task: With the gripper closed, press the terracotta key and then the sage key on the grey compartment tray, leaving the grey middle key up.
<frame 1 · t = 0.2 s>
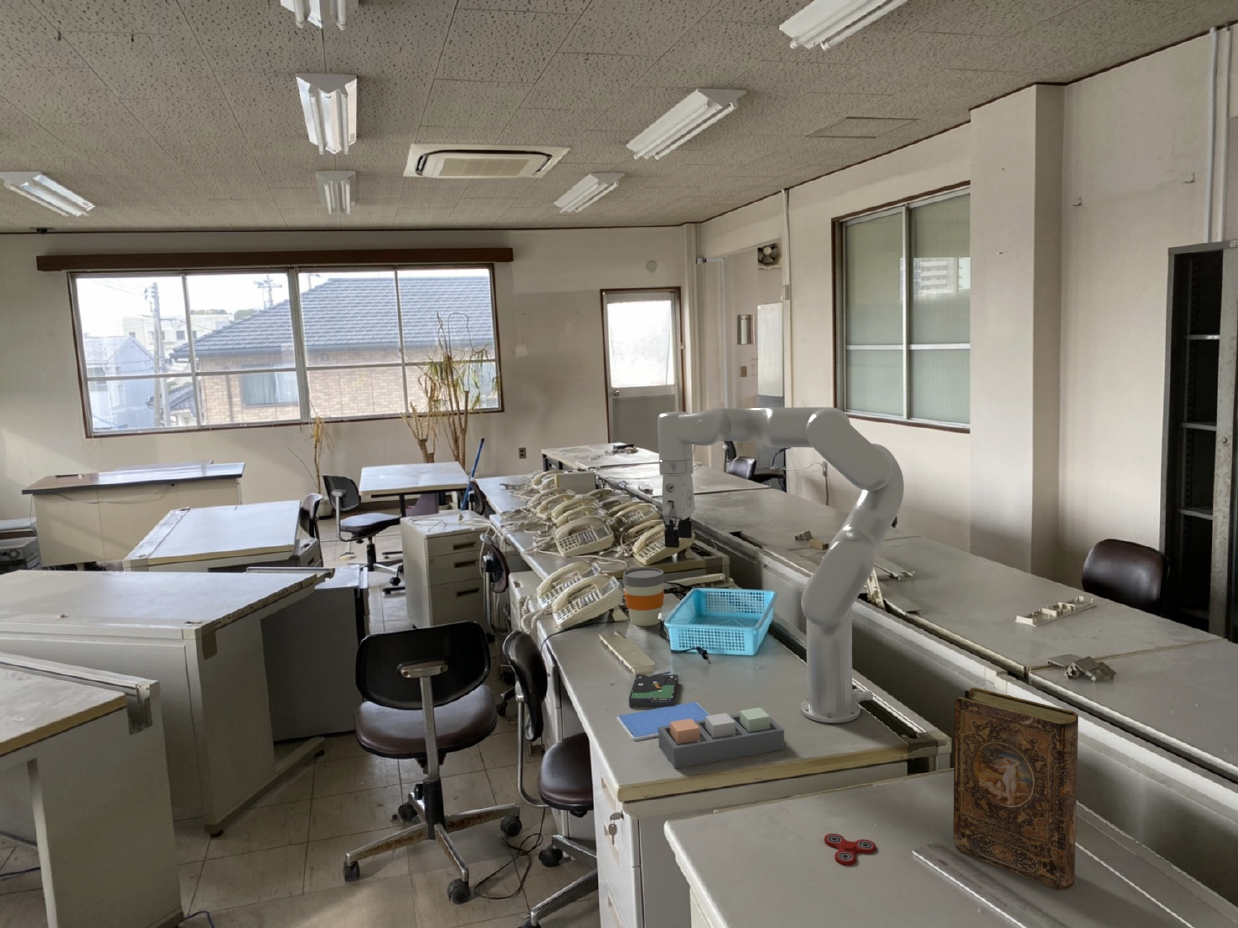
hand: (678, 542, 189), 37 cm above the table, tool pointing down, fingers open, 9 cm apart
reusable coffee cup: (645, 621, 253), on the table
sage key: (754, 719, 170), point 5 cm above the table, slide at 0.0 cm
terracotta key: (684, 730, 167), point 5 cm above the table, slide at 0.0 cm
grey key: (720, 725, 169), point 5 cm above the table, slide at 0.0 cm
book: (1014, 863, 128), on the table
grey compartment tray: (720, 747, 169), on the table
fidget spinner: (852, 852, 133), on the table
disk drive: (654, 697, 197), on the table
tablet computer: (666, 724, 183), on the table
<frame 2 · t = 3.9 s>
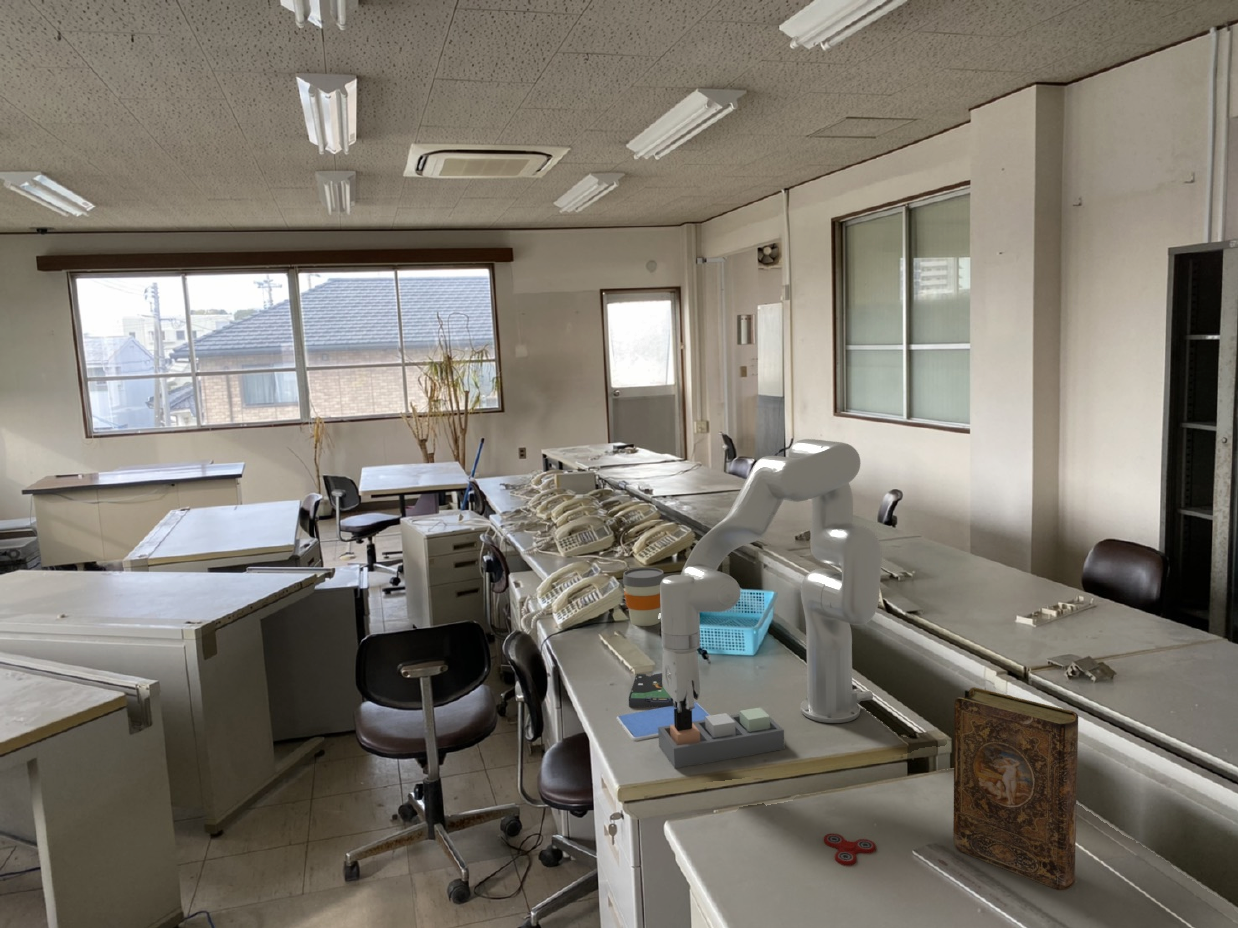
hand: (683, 728, 167), 5 cm above the table, tool pointing down, fingers closed
terracotta key: (684, 734, 167), point 4 cm above the table, slide at 0.7 cm, touching gripper
everything else where it was.
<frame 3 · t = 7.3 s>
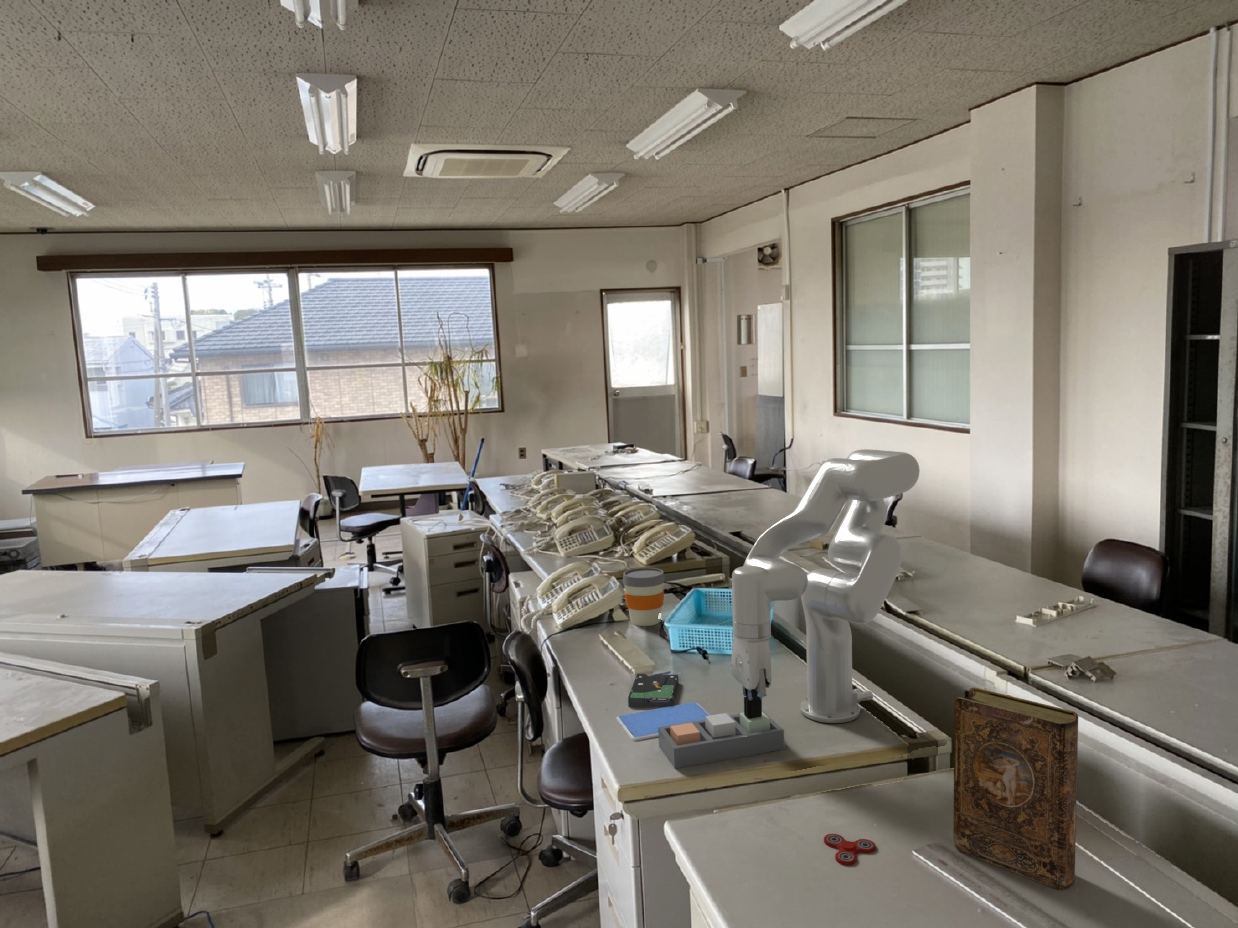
hand: (753, 716, 170), 6 cm above the table, tool pointing down, fingers closed
sage key: (754, 721, 171), point 4 cm above the table, slide at 0.5 cm, touching gripper
terracotta key: (684, 734, 167), point 4 cm above the table, slide at 0.8 cm
everything else where it was.
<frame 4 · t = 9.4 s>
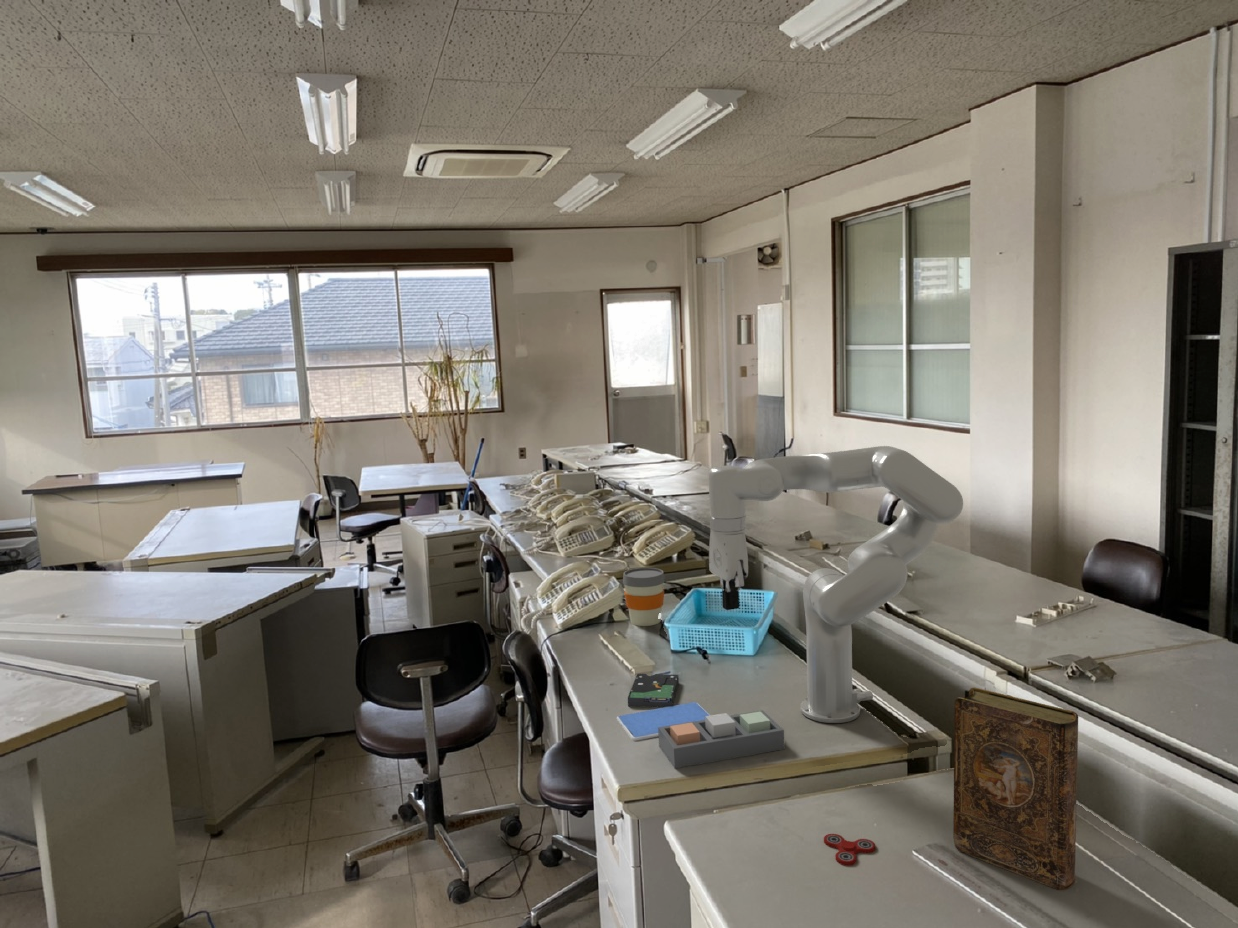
hand: (730, 608, 180), 24 cm above the table, tool pointing down, fingers closed
sage key: (754, 723, 171), point 4 cm above the table, slide at 0.9 cm
everything else where it was.
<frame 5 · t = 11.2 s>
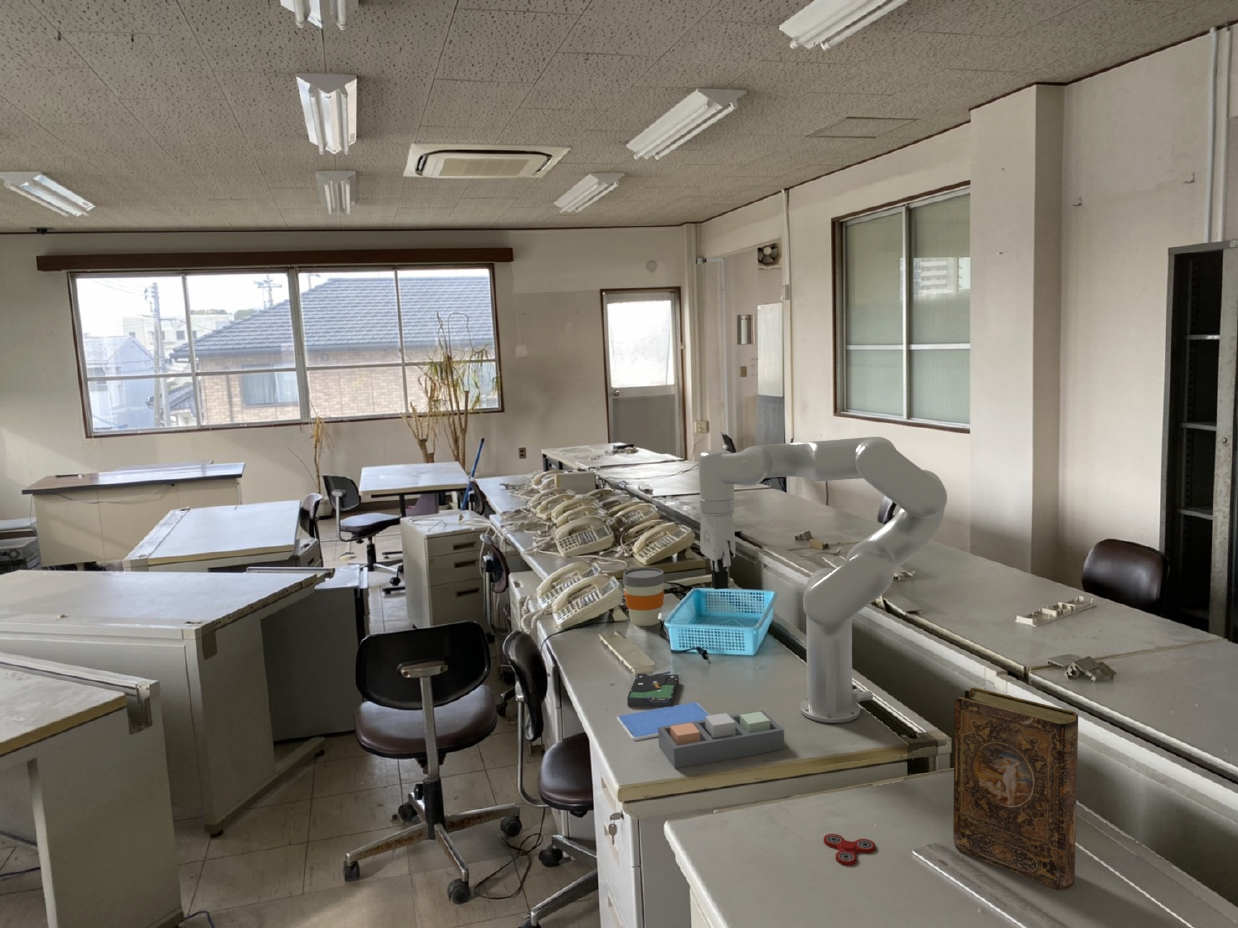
hand: (720, 587, 187), 27 cm above the table, tool pointing down, fingers closed
nothing on the table moved.
at the end: terracotta key slide at 0.8 cm; sage key slide at 0.9 cm; grey key slide at 0.0 cm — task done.
